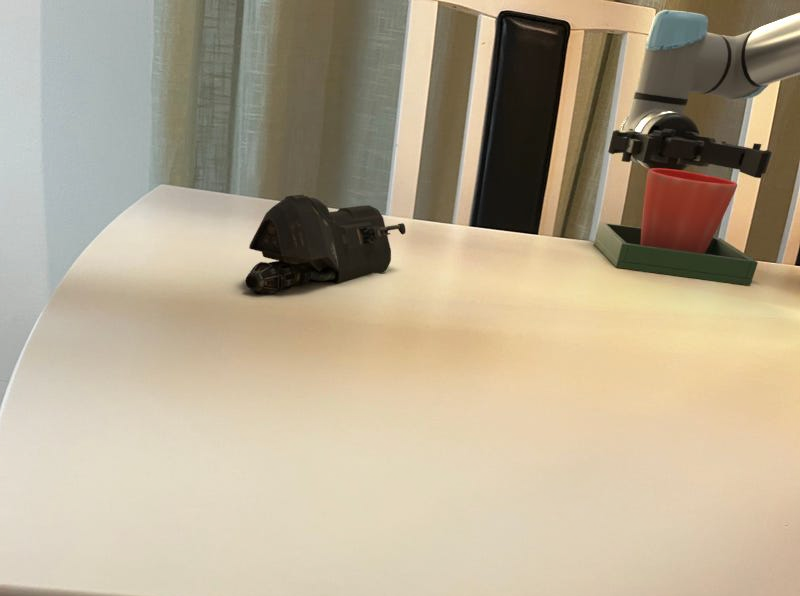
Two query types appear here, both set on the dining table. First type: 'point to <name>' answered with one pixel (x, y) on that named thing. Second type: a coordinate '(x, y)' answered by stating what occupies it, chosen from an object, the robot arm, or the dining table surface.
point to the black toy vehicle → (318, 244)
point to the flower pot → (683, 209)
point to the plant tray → (674, 257)
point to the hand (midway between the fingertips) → (705, 158)
